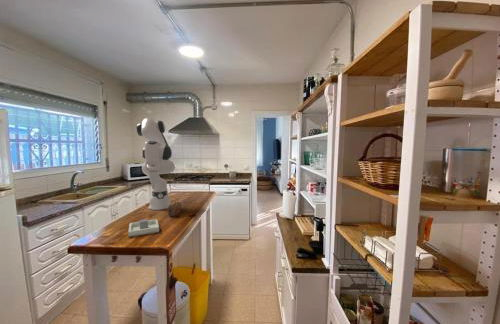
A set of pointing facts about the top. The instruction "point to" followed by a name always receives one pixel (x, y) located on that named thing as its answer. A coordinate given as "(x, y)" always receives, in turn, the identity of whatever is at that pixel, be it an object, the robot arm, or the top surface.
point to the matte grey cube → (144, 224)
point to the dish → (136, 231)
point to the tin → (174, 209)
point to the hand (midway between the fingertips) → (153, 187)
